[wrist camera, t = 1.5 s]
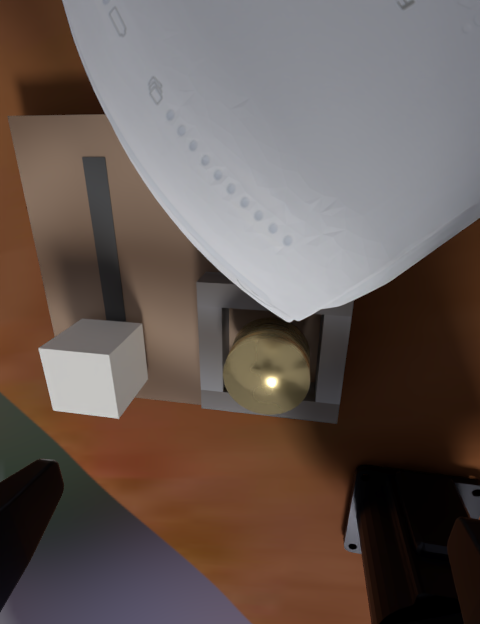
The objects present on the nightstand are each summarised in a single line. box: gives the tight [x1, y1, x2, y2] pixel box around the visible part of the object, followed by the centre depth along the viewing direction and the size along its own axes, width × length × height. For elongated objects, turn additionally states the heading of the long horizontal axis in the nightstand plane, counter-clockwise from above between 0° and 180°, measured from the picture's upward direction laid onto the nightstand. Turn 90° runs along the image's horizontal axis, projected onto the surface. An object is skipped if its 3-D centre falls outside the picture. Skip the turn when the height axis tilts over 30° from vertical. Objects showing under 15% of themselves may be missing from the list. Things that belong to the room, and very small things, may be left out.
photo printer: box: [62, 0, 480, 322], centre depth 9 cm, size 10×4×12 cm
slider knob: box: [39, 319, 148, 419], centre depth 16 cm, size 3×3×3 cm
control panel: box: [8, 114, 354, 424], centre depth 16 cm, size 13×14×3 cm
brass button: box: [223, 318, 310, 415], centre depth 14 cm, size 3×3×2 cm
